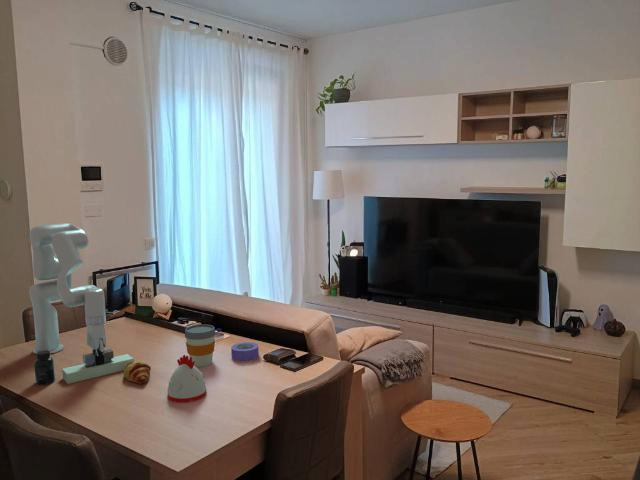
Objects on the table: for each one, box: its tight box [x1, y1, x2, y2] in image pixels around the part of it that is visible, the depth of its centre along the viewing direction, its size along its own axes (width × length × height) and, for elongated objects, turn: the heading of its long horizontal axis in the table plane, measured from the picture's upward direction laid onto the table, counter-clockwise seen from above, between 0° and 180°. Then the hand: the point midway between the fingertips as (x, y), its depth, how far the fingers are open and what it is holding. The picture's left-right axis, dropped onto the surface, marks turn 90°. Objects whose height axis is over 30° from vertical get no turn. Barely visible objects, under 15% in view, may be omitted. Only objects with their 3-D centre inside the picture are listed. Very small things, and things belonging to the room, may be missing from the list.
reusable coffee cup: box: [184, 324, 216, 368], centre depth 232 cm, size 13×13×15 cm
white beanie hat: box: [167, 354, 208, 404], centre depth 200 cm, size 14×14×15 cm
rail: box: [61, 353, 135, 385], centre depth 222 cm, size 7×26×4 cm, turn 129°
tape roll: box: [230, 341, 260, 363], centre depth 239 cm, size 12×12×5 cm
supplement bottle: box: [33, 350, 56, 386], centre depth 213 cm, size 7×7×12 cm
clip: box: [82, 348, 115, 368], centre depth 222 cm, size 3×11×7 cm, turn 129°
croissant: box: [123, 361, 152, 385], centre depth 217 cm, size 21×10×8 cm, turn 32°
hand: (98, 363), depth 222 cm, fingers closed on clip, 3 cm apart
